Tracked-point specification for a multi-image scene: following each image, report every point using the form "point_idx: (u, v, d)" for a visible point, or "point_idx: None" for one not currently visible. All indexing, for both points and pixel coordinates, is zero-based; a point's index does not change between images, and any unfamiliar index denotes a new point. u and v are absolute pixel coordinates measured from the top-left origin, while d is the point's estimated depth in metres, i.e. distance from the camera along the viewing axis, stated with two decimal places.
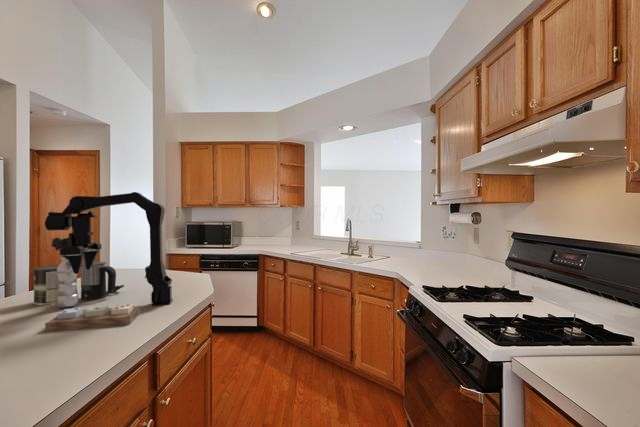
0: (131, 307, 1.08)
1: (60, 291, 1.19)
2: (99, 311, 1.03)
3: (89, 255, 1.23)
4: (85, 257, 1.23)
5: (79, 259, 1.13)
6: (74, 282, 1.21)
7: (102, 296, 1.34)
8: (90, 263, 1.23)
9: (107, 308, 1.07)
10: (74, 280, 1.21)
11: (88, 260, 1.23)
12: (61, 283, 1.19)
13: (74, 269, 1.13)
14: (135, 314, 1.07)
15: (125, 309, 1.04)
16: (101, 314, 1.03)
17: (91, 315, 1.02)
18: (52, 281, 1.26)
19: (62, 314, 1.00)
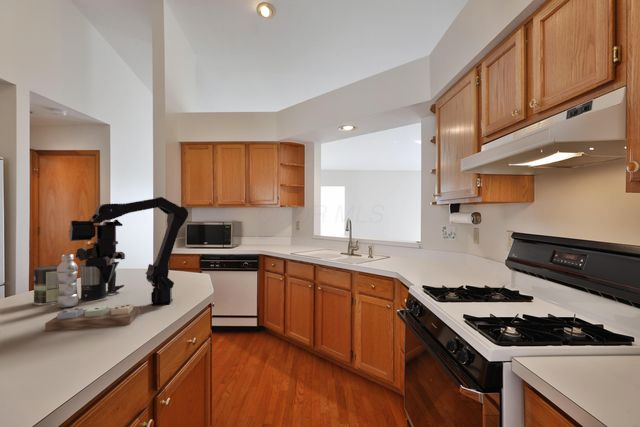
0: (131, 307, 1.08)
1: (60, 291, 1.19)
2: (99, 311, 1.03)
3: None
4: None
5: (110, 268, 1.11)
6: (74, 282, 1.21)
7: (102, 296, 1.34)
8: None
9: (107, 308, 1.07)
10: (74, 280, 1.21)
11: None
12: (61, 283, 1.19)
13: (104, 278, 1.11)
14: (135, 314, 1.07)
15: (125, 309, 1.04)
16: (101, 314, 1.03)
17: (91, 315, 1.02)
18: (52, 281, 1.26)
19: (62, 314, 1.00)
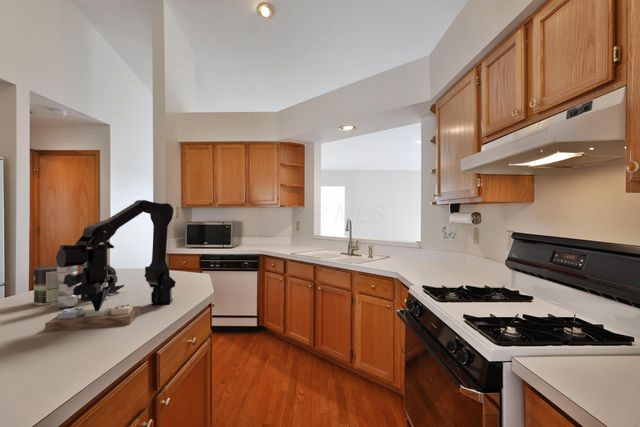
0: (131, 307, 1.08)
1: (60, 291, 1.19)
2: (99, 313, 1.03)
3: None
4: None
5: (101, 295, 1.03)
6: None
7: None
8: None
9: (107, 310, 1.07)
10: None
11: None
12: (61, 283, 1.19)
13: (95, 306, 1.04)
14: (135, 314, 1.07)
15: (125, 309, 1.04)
16: None
17: None
18: (52, 281, 1.26)
19: (62, 314, 1.00)
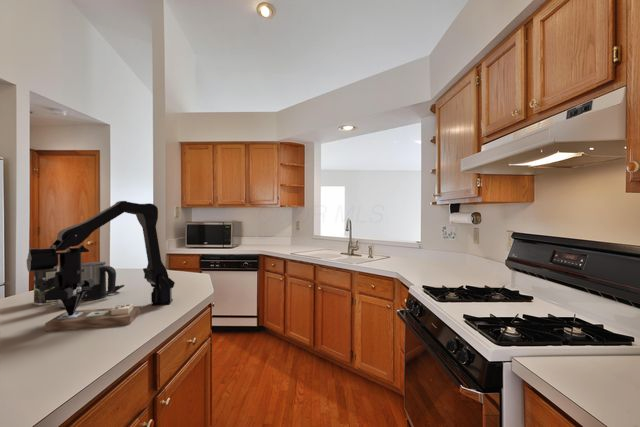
0: (131, 307, 1.08)
1: None
2: None
3: None
4: None
5: (74, 300, 1.01)
6: None
7: (102, 296, 1.34)
8: None
9: None
10: None
11: None
12: None
13: (68, 310, 1.02)
14: (135, 314, 1.07)
15: (125, 309, 1.04)
16: None
17: None
18: None
19: None
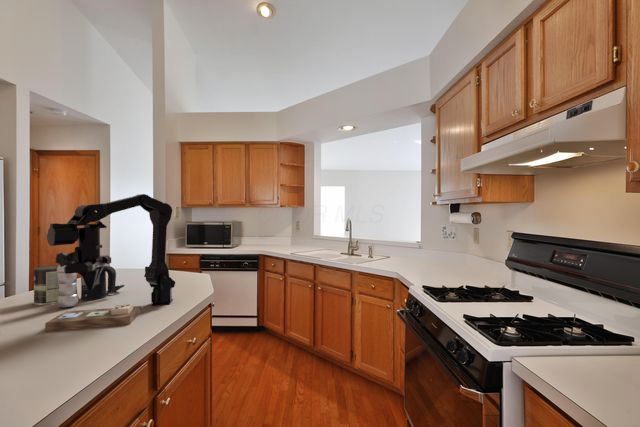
0: (131, 307, 1.08)
1: (60, 291, 1.19)
2: None
3: None
4: None
5: (93, 274, 1.03)
6: (74, 282, 1.21)
7: (102, 296, 1.34)
8: None
9: None
10: (74, 280, 1.21)
11: None
12: (61, 283, 1.19)
13: (88, 285, 1.03)
14: (135, 314, 1.07)
15: (125, 309, 1.04)
16: None
17: None
18: (52, 281, 1.26)
19: None
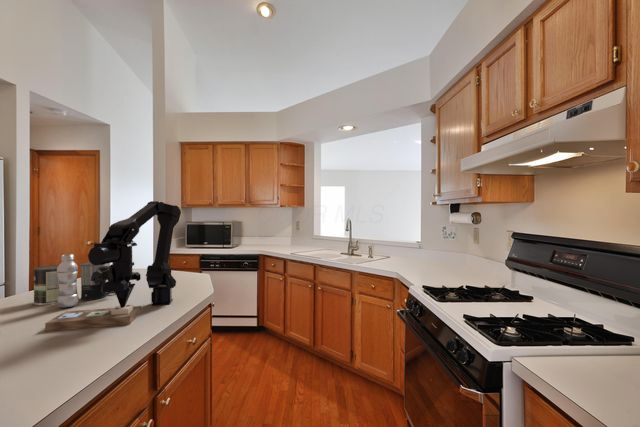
0: (131, 307, 1.08)
1: (60, 291, 1.19)
2: None
3: None
4: None
5: (126, 292, 1.05)
6: (74, 282, 1.21)
7: (102, 296, 1.34)
8: None
9: None
10: (74, 280, 1.21)
11: None
12: (61, 283, 1.19)
13: (121, 302, 1.06)
14: (135, 314, 1.07)
15: (125, 309, 1.04)
16: None
17: None
18: (52, 281, 1.26)
19: None
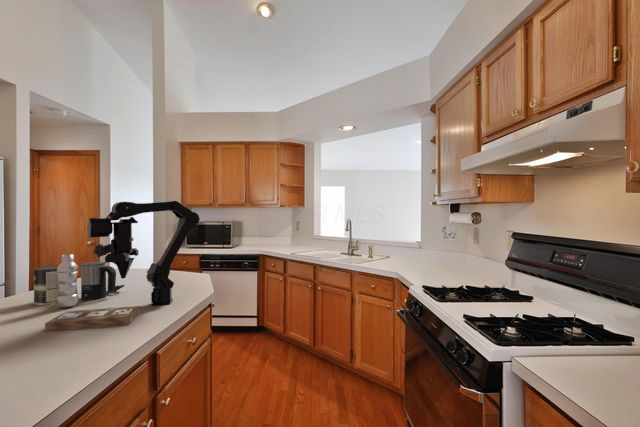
0: None
1: (60, 291, 1.19)
2: None
3: None
4: None
5: (127, 264, 1.15)
6: (74, 282, 1.21)
7: (102, 296, 1.34)
8: None
9: None
10: (74, 280, 1.21)
11: None
12: (61, 283, 1.19)
13: (121, 274, 1.15)
14: (135, 314, 1.07)
15: None
16: None
17: None
18: (52, 281, 1.26)
19: None
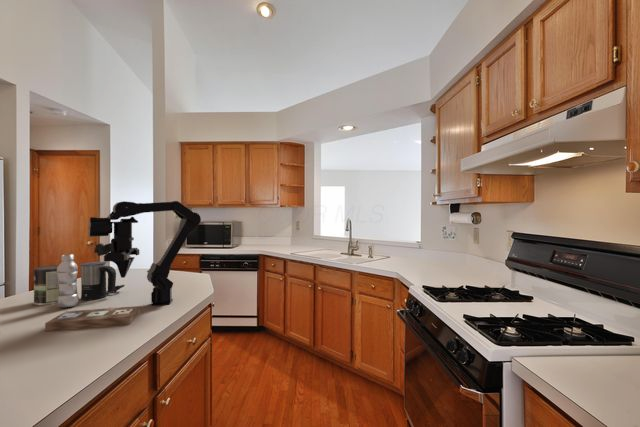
0: None
1: (60, 291, 1.19)
2: None
3: None
4: None
5: (126, 263, 1.16)
6: (74, 282, 1.21)
7: (102, 296, 1.34)
8: None
9: None
10: (74, 280, 1.21)
11: None
12: (61, 283, 1.19)
13: (121, 273, 1.16)
14: (135, 314, 1.07)
15: None
16: None
17: None
18: (52, 281, 1.26)
19: None
